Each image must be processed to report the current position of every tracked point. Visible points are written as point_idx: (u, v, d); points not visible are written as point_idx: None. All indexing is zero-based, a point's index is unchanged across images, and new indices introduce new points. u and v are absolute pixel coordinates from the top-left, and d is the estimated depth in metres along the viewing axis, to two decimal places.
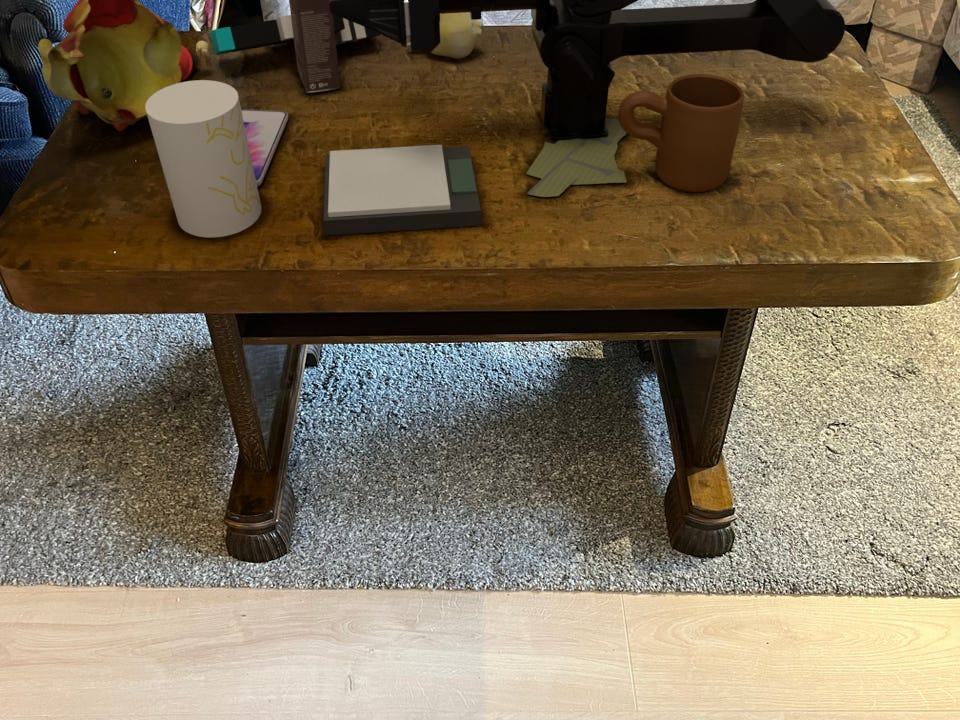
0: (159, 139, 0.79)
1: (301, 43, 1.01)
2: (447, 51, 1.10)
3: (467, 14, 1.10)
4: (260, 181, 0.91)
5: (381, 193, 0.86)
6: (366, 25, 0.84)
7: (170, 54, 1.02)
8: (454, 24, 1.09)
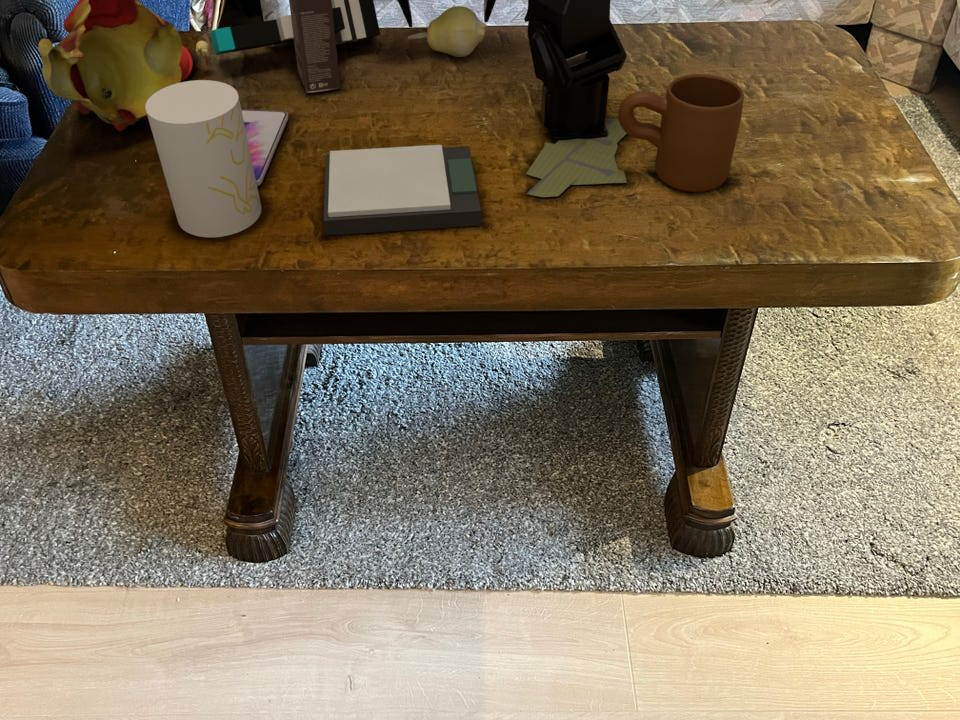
0: (159, 139, 0.79)
1: (301, 43, 1.01)
2: (448, 48, 1.10)
3: (472, 14, 1.10)
4: (260, 181, 0.91)
5: (381, 193, 0.86)
6: (399, 4, 1.07)
7: (171, 55, 1.02)
8: (458, 22, 1.09)
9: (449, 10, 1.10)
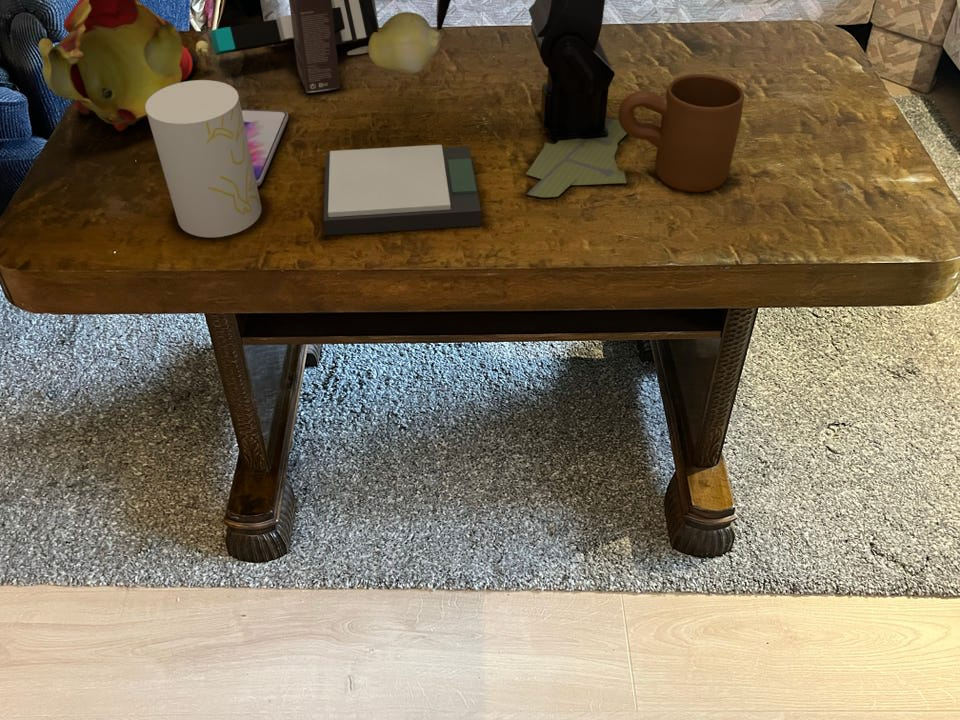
0: (159, 139, 0.79)
1: (301, 43, 1.01)
2: (394, 64, 0.90)
3: (421, 21, 0.89)
4: (260, 181, 0.91)
5: (381, 193, 0.86)
6: (361, 4, 0.87)
7: (171, 55, 1.02)
8: (403, 32, 0.88)
9: (393, 18, 0.90)
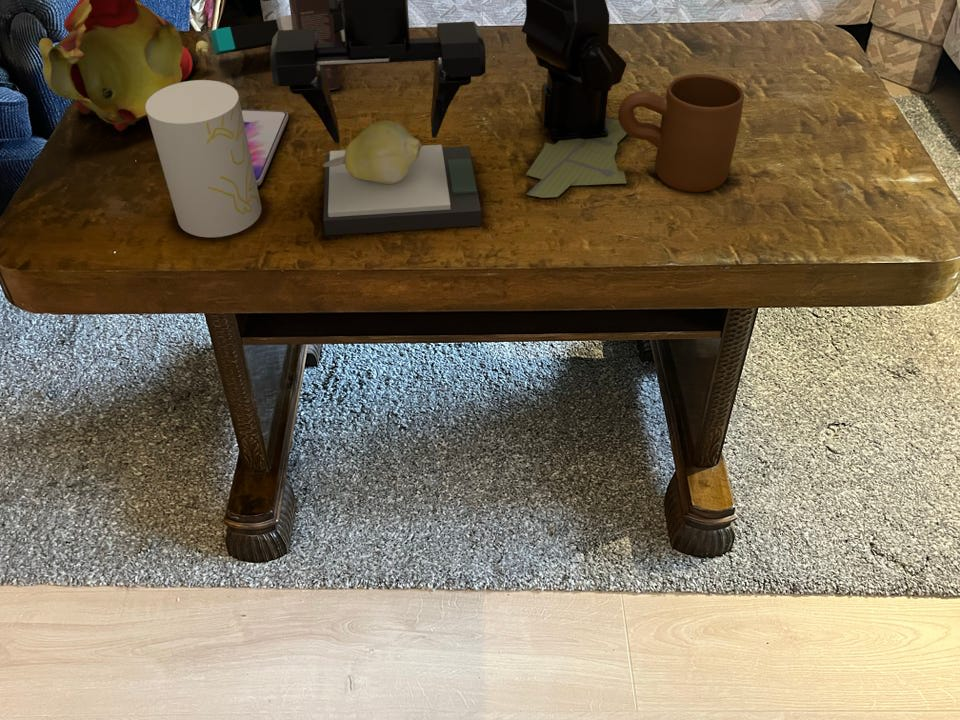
0: (159, 138, 0.79)
1: None
2: (373, 176, 0.85)
3: (398, 130, 0.84)
4: (260, 181, 0.91)
5: (381, 193, 0.86)
6: None
7: (171, 55, 1.02)
8: (380, 144, 0.83)
9: (369, 128, 0.84)
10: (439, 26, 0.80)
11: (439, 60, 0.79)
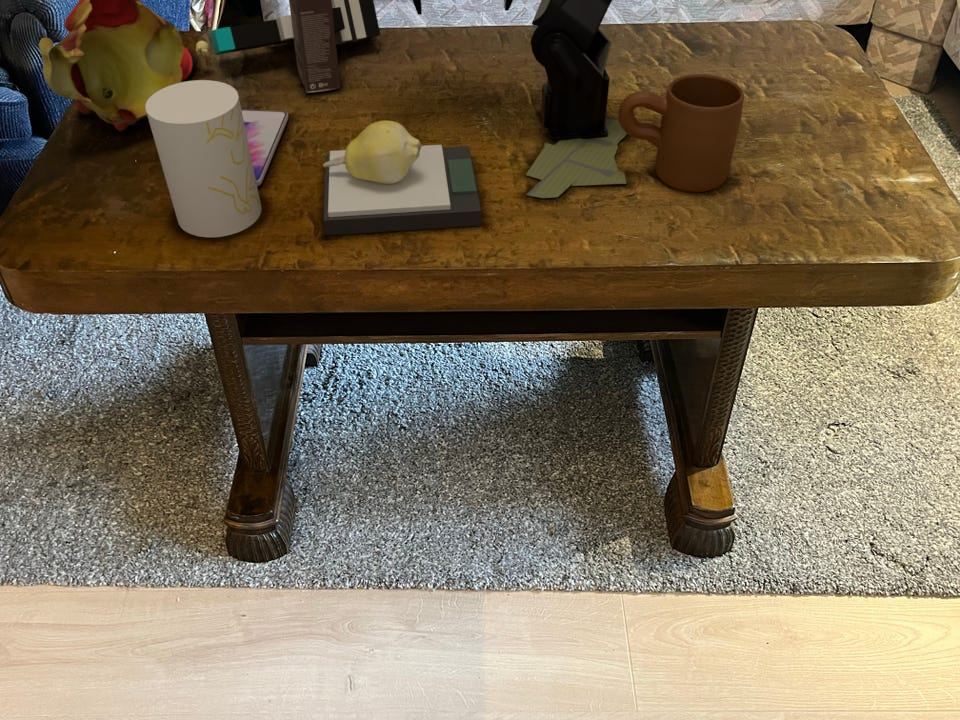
0: (159, 138, 0.79)
1: (301, 43, 1.01)
2: (373, 176, 0.85)
3: (398, 130, 0.84)
4: (260, 181, 0.91)
5: (381, 193, 0.86)
6: None
7: (172, 55, 1.02)
8: (380, 144, 0.83)
9: (369, 128, 0.84)
10: None
11: None
